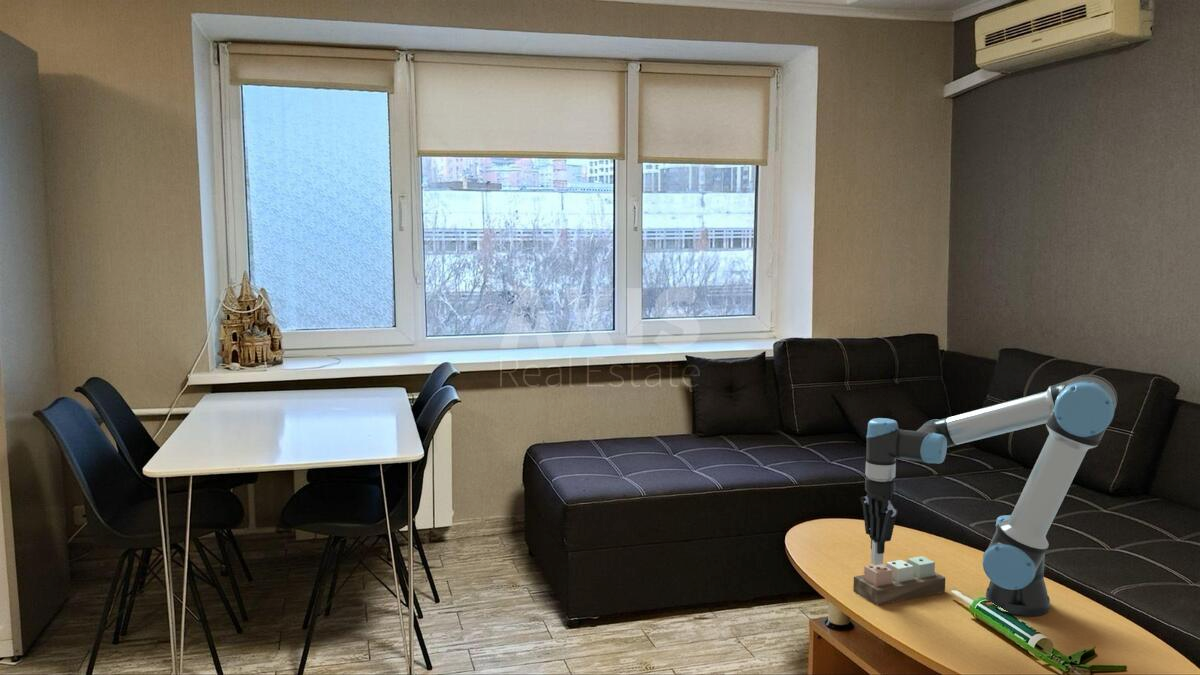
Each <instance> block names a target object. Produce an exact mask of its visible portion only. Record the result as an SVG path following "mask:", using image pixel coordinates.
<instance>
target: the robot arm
mask: <svg viewBox="0 0 1200 675" xmlns="http://www.w3.org/2000/svg"><path fill="white" fill-rule="evenodd" d="M1117 405H1118V394H1117V392H1116V389H1115V387H1114V386H1113V384H1112V383H1110V381H1108V380H1107V379H1105V377H1101V376H1099V375H1095V374H1081V375H1078V376H1076V377H1073V378H1071V379H1068V380H1066V381H1062V382H1059V383H1055V384H1053V385H1050V386H1048V388H1047V390H1046V391H1041V392H1038V393H1035V394H1031V395H1027V396H1024V397H1020V398H1016V399H1012V400H1008V401H1005V402H1002V403H997V404H994V405H990V406H985V407H982V408H978V409H975V410H971V411H967V412H963V413H960V414H956V415H953V416H948V417H945V418H940V419H937V418H936V419H935V418H934V419H931V420H928V421H926V422H924V423H923V424H922V426H920V427H919V428H918V429H917V430H907V429H902V428H899V424H898V422H897V420H894V419H892V418H886V417H885V418H883V417H877V418H872V419H870V420H869V421H868V422H867V432H866V436H865V438H866V454H865V457H866V459H865V469H864V471H865V472H864V473H865V476H866V477H865V479H864V480H865V481H864V490H865V492H866V496H861V497H860V502H861V505H862V511H863V522H864V531H865V534H866V535H868V536H869V538H870V550H871V556H870V565H880V564H882V565H884V554H885V549H886V548H885V547H886V546H885V545H886V544H885V543H887V542H891V540H892V536H893V533H894V527H895V523H896V519H897V516H898V514H899V512H900V511H899V509H898V508H895V507H894V506H893V499H892V496H893V495H894V494H895V493H896V479H895V478H896V472H897V471H896V469H897V468H896V467H897V465H896V463H897V459H900V460H901V459H903V460H909V461H915V462H921V463H926V464H942V463H943V462H945V459H946V455H947V450H948V448H950V447H951V448H952V447H955V446H957V445H958V446H959V445H961V444H965V443H970V442H974V441H978V440H982V439H986V438H991V437H994V436H999V435H1003V434H1006V433H1007V434H1008V433H1011V432H1014V431H1019V430H1025V429H1026V428H1027V429H1028V428H1031V427H1036V426H1039V425H1043V424H1045V427H1046V429H1047V431H1048V433H1049V434H1048V436H1047V438H1046V441H1045V442H1044V445H1043V447H1042V449H1041V451H1040V453H1039V455H1038V458H1037V459H1036V461H1035V464H1034V465H1033V468H1032V469H1031V472H1030V474H1029V476H1028V478H1027V480H1026V483H1025V485H1024V487H1023V490H1022V492H1021V493H1020V496H1019V498H1018V500H1017V502H1016V504H1015V505H1014V506H1015V507H1014V509H1013V510H1012V513H1011V514H1008V515H1007V514H1006V515H999V516H998V517H997V518H996V524H995V528H996V529H995V532H994V534H993V537H992V540H991V541H990V543H989V545H988V547H987V549H986V550H985V551H984V553H983V556H982V568H983V571H984V574H985V575H986V577H987V578H988V579H989V580H990V582H989V584H988V587H987V588H986V591H985V600H986V599H987V600H989V601H990V602H992V603H994V604H995V605H997V606H999V607H1001V608H1003V609H1004V610H1006V611H1008V612H1009V613H1008V614H1010V613H1011V615H1014V616H1015V615H1016V616H1023V617H1024V616H1025V617H1036V616H1042V615H1045V614H1047V613H1049V612H1050V609H1051V599H1050V596H1049V595H1048V590H1047V586H1046V582H1045V579H1044V576H1045V575H1044V574H1045V558H1046V557H1045V556H1046V552H1047V550H1048V548H1049V541H1048V540H1047V534H1048V531H1049V530H1050V527H1051V525H1052V524H1053V522H1054V520H1055V517H1056V515H1057V513H1058V511H1059V509H1060V507H1061V505H1062V504H1063V501H1064V499H1065V497H1066V495H1067V493H1068V491H1069V490H1070V489H1069V488H1070V487H1071V484H1072V483H1073V480H1074V478H1075V476H1076V475H1077V472H1078V470H1079V469H1080V467H1081V464H1082V462H1083V460H1084V458H1085V456H1086V453H1087V452H1088V450H1090V449H1094V448H1096V447H1098V446H1099V445H1100V443H1101V440H1102V438H1103V436H1104V434H1105V432H1106V430H1107V428H1108V427H1109V426H1110V424H1111V423H1112V422H1113V418H1114V417H1115V411H1116V408H1117Z"/></svg>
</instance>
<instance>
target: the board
mask: <svg viewBox="0 0 1200 675" xmlns="http://www.w3.org/2000/svg"><path fill="white" fill-rule="evenodd" d="M852 587H853V589H852V590H853V592H854V593H856V594H858V595H860V596H861V597H863V598H864V599H866V600H868V601H869V602H871V603H873V604H874V605H876V606H879V605H885V604H890V603H894V602H899V601H900V602H901V601H905V600H910V599H915V598H919V597H921V598H922V597H925V596H930V595H935V594H936V595H937V594H940V593H945V592H946V577H945V576H943V575H941V574H940V573H937V572H936V571H935V573H934V576H930V577H924V578H917V577H916V576H914V575H913V580H908V581H903V582H896V581H894V580H892V584H887V585H882V586H874V585H872V584H870V583H869V582H867V581H865V580H864V574H861V575H855V576H853V586H852Z"/></svg>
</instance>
